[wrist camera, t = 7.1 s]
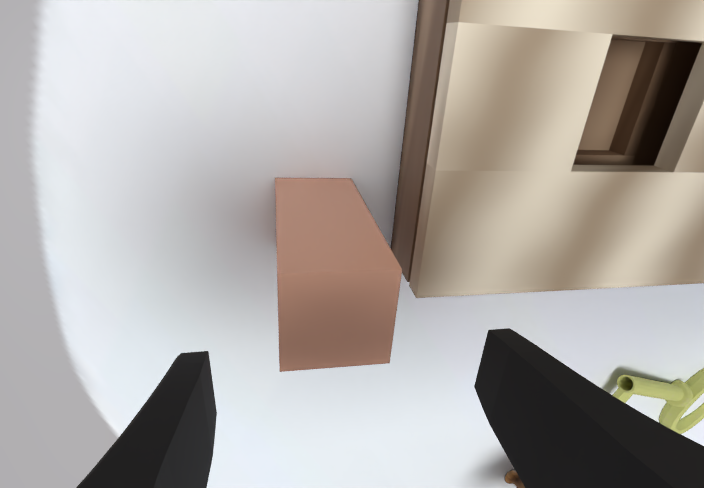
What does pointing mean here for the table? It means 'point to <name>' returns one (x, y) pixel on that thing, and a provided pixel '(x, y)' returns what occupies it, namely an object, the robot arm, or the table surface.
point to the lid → (553, 156)
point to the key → (668, 398)
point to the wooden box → (600, 128)
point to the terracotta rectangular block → (332, 277)
